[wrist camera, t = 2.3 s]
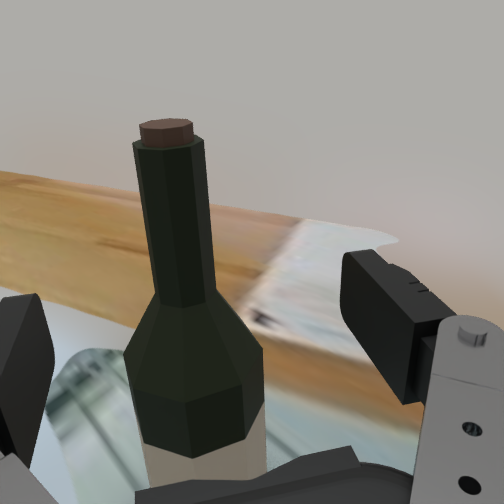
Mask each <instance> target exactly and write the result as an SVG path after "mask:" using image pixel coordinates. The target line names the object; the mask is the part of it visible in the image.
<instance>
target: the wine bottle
mask: <svg viewBox="0 0 504 504" xmlns="http://www.w3.org/2000/svg"><path fill="white" fill-rule="evenodd" d="M139 127H140V135H141V140H138V141H136V142H133V143H132V145H133V152H134V158H135V164H136V171H137V178H138V183H139V191H140V197H141V204H142V210H143V217H144V223H145V230H146V236H147V243H148V249H149V256H150V262H151V269H152V275H153V282H154V288H155V294H154V296H153V298H152V300H151V302H150V304H149V305H148V307H147V309H146V311H145V313H144V315H143V317H142V319H141V321H140V323H139V325H138V326H137V328H136V330H135V332H134V334H133V336H132V338H131V340H130V342H129V344H128V346H127V347H126V349H125V351H124V353H123V356H124V361H125V366H126V371H127V376H128V381H129V386H130V391H131V395H132V400H133V405H134V410H135V415H136V420H137V425H138V430H139V435H140V439H141V444H142V449H143V454H144V459H145V464H146V469H147V474H148V479H149V484H150V488H154V487H158V486H163V485H168V484H172V483H177V482H182V481H187V480H191V479H196V480H251V479H254V478H257V477H259V476H261V475H263V474H265V473H267V462H266V432H265V402H264V373H263V348H262V347H261V346H260V344H259V343H258V341H257V340H256V339H255V337H254V336H253V335H252V333H251V332H250V330H249V329H248V328H247V326H246V325H245V324H244V322H243V321H242V320H241V318H240V317H239V316H238V315H237V313H236V312H235V311H234V310H233V309H232V307H231V306H230V305H229V304H228V303H227V301H226V300H225V299H224V298H223V296H222V295H221V294H220V293H219V292H218V290H217V289H216V280H215V268H214V256H213V244H212V232H211V221H210V209H209V199H208V198H209V197H208V186H207V173H206V161H205V149H204V140H203V139H202V138H200V137H198V136H197V135H194V132H193V123H192V122H191V121H189V120H188V119H171V118H169V119H161V120H151V121H148V122H145V123H142V124H139Z"/></svg>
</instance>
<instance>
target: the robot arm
mask: <svg viewBox="0 0 504 504" xmlns="http://www.w3.org/2000/svg"><path fill="white" fill-rule="evenodd" d="M340 309H341V314H342V317H343V320H344V322H345V323H346V325H347V326H348V328H349V329H350V331H351V332H352V333H353V335H354V336H355V338H356V339H357V340H358V342H359V343H360V345H361V346H362V348H363V349H364V350H365V352H366V353H367V355H368V356H369V358H370V359H371V360H372V362H373V363H374V365H375V366H376V368H377V369H378V370H379V372H380V373H381V375H382V376H383V378H384V379H385V380H386V382H387V383H388V385H389V386H390V388H391V389H392V390H393V392H394V393H395V395H396V396H397V398H398V399H399V400H400V402H401V403H402V405H405V404H410V403H415V402H420V401H421V402H422V403H423V405H424V406H425V407H424V412H423V418H422V424H421V430H420V436H419V442H418V448H417V454H416V459H415V465H414V471H413V476H412V475H410V474H408V473H406V472H403V471H401V470H398V469H395V468H392V467H388V466H384V465H380V464H374V463H366V462H359V461H358V459H357V457H356V455H355V453H354V451H353V449H352V447H351V445H350V446H345V447H341V448H336V449H331V450H327V451H322V452H317V453H313V454H308V455H303V456H300V457H298V458H296V459H294V460H292V461H290V462H288V463H286V464H284V465H281V466H279V467H277V468H275V469H273V470H271V471H269V472H267V473H265V474H263V475H261V476H259V477H257V478H254V479H251V480H196V479H191V480H187V481H182V482H177V483H172V484H168V485H163V486H158V487H154V488H149V489H144V490H140V491H135V504H504V331H503V330H502V329H500V327H498V326H497V325H495V324H493V323H491V322H489V321H487V320H485V319H482V318H478V317H474V316H468V315H457V314H456V313H455V312H453V311H452V310H451V309H450V308H449V307H448V306H447V305H446V304H445V303H443V302H442V301H441V300H440V299H439V298H438V297H437V296H436V295H434V294H433V293H432V292H429V289H428V288H427V287H426V286H425V285H423V284H422V283H420V281H419V280H418V279H417V278H416V277H415V276H413V275H412V274H411V273H410V272H409V271H407V270H405V269H403V268H400V267H399V266H396V265H394V264H388V263H387V262H386V261H385V260H384V259H383V258H382V257H380V256H379V255H378V254H377V253H376V252H375V251H374V250H372V249H368V250H361V251H353V252H346V253H345V254H344V256H343V259H342V272H341V289H340ZM54 366H55V354H54V347H53V343H52V339H51V335H50V332H49V328H48V325H47V321H46V317H45V314H44V310H43V307H42V303H41V300H40V298H39V296H38V294H36V293H34V294H26V295H19V296H12V297H4V298H3V299H2V300H1V302H0V504H58V503H57V502H56V500H55V499H54V498H53V497H52V496H51V495H50V494H49V492H48V491H47V490H46V489H45V488H44V487H43V485H42V484H41V483H40V482H39V481H38V480H37V479H36V477H35V476H34V475H33V474H32V473H31V472H30V471H29V468H30V464H31V460H32V456H33V452H34V448H35V444H36V440H37V436H38V432H39V428H40V424H41V420H42V416H43V412H44V408H45V404H46V400H47V396H48V392H49V388H50V384H51V380H52V376H53V372H54Z"/></svg>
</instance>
